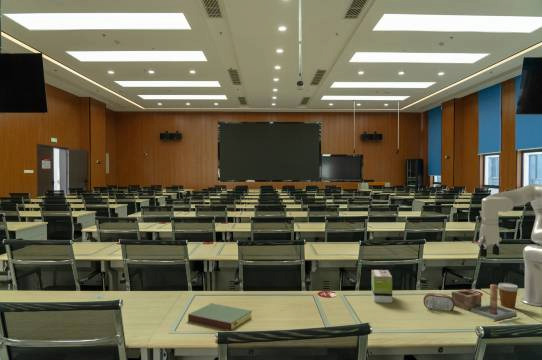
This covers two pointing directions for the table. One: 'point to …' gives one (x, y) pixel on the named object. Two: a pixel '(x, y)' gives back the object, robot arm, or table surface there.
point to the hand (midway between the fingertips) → (489, 255)
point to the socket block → (466, 299)
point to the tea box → (382, 286)
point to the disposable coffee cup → (508, 294)
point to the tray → (500, 314)
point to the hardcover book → (220, 316)
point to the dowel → (493, 298)
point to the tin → (439, 302)
